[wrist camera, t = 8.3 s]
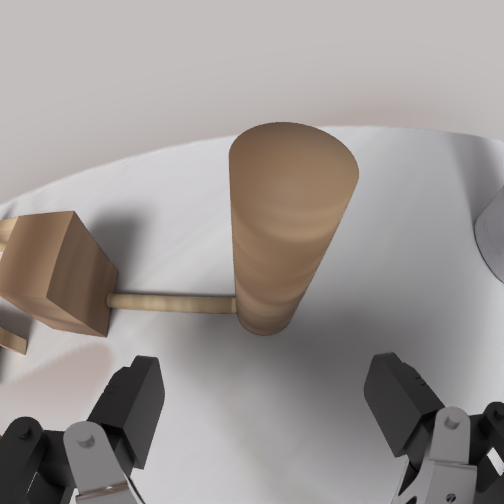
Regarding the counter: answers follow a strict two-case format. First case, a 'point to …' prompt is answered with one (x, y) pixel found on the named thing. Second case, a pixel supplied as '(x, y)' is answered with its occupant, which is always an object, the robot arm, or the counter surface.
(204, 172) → the counter surface
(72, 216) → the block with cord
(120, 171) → the counter surface
